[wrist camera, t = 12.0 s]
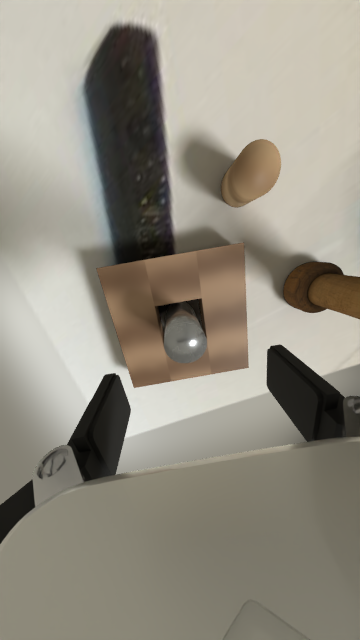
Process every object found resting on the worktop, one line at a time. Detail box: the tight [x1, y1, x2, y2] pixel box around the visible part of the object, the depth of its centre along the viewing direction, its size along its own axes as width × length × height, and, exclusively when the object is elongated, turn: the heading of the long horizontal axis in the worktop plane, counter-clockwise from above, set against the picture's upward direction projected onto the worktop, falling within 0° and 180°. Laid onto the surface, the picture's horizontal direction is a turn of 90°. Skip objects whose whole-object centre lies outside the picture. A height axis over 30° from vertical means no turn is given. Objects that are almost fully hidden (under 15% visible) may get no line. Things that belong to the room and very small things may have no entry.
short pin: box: [221, 139, 281, 207], centre depth 17 cm, size 4×4×5 cm
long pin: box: [164, 302, 207, 363], centre depth 20 cm, size 4×4×9 cm
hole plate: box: [96, 243, 249, 388], centre depth 23 cm, size 16×16×4 cm
